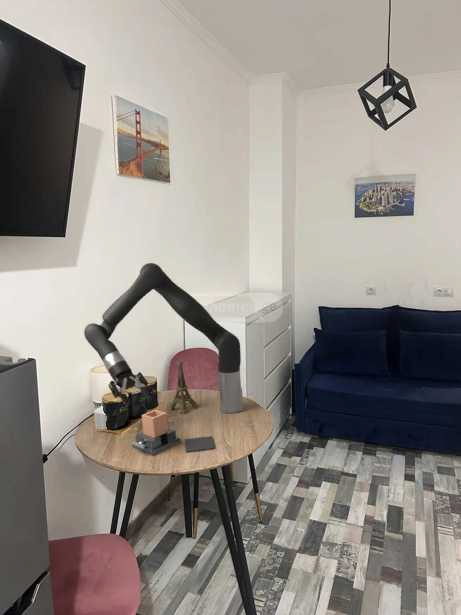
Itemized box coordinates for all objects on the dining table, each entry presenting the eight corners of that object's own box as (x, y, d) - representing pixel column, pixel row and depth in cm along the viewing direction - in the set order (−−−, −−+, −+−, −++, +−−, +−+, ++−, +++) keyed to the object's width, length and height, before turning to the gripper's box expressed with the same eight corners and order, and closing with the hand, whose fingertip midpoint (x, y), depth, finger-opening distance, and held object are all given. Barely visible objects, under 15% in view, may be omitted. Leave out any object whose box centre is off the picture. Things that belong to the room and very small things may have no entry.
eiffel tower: (182, 403, 206) (178, 349, 202) (200, 406, 199) (196, 351, 196) (166, 410, 197) (161, 354, 194) (184, 414, 191) (179, 356, 188)
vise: (160, 434, 172) (158, 408, 170) (180, 441, 164) (178, 414, 163) (128, 449, 161) (125, 421, 159) (148, 457, 153) (145, 428, 152)
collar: (156, 427, 167) (155, 409, 166) (168, 431, 163) (166, 413, 162) (143, 433, 162) (141, 415, 161) (154, 437, 158) (152, 418, 157)
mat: (211, 437, 167) (211, 436, 167) (215, 449, 157) (215, 447, 157) (184, 440, 165) (184, 439, 165) (186, 452, 155) (186, 451, 155)
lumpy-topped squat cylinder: (92, 428, 183) (89, 407, 181) (116, 416, 193) (114, 397, 192) (110, 432, 177) (108, 411, 176) (134, 420, 188) (132, 400, 186)
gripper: (104, 364, 165) (126, 400, 159) (135, 356, 176) (157, 389, 170) (97, 376, 170) (118, 412, 164) (128, 367, 180) (149, 400, 174)
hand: (138, 400), depth 167 cm, fingers open, 8 cm apart
